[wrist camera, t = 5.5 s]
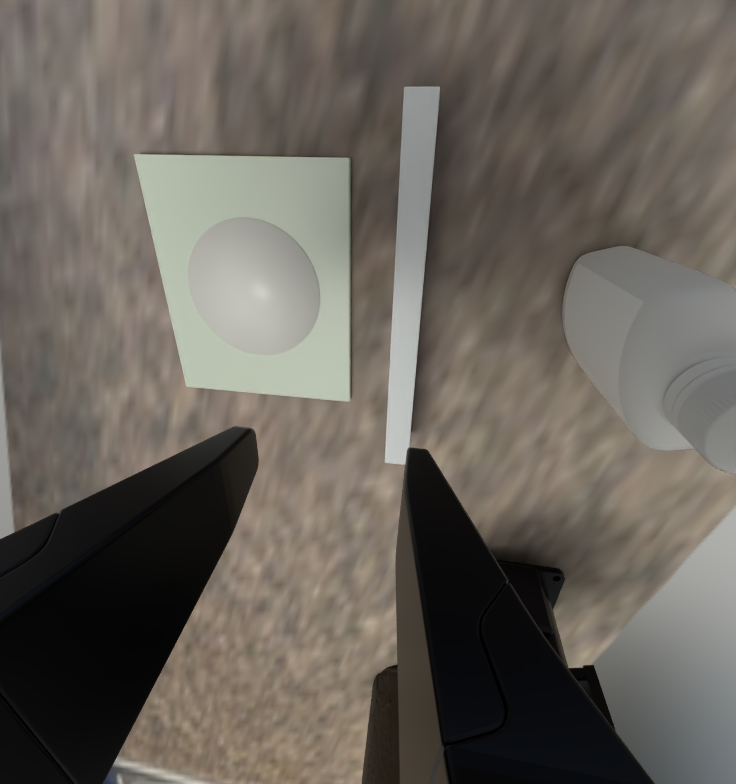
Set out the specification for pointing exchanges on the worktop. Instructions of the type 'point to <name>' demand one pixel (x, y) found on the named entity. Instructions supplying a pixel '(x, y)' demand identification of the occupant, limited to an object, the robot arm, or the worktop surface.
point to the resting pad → (255, 269)
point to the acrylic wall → (410, 260)
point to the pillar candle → (383, 732)
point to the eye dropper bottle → (657, 348)
